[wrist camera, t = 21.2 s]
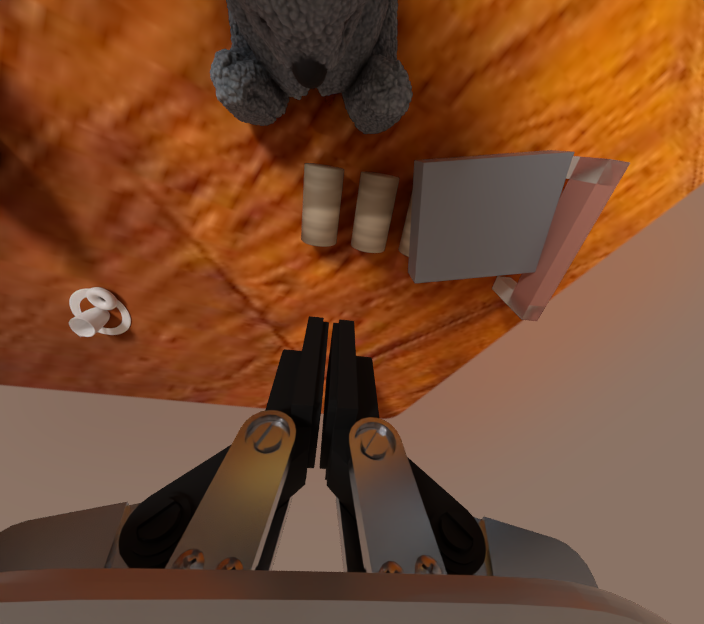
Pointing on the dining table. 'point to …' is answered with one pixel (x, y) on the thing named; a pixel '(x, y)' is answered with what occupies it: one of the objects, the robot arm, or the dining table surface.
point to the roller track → (369, 216)
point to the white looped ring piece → (96, 313)
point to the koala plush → (313, 59)
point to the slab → (483, 213)
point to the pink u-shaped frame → (563, 234)
